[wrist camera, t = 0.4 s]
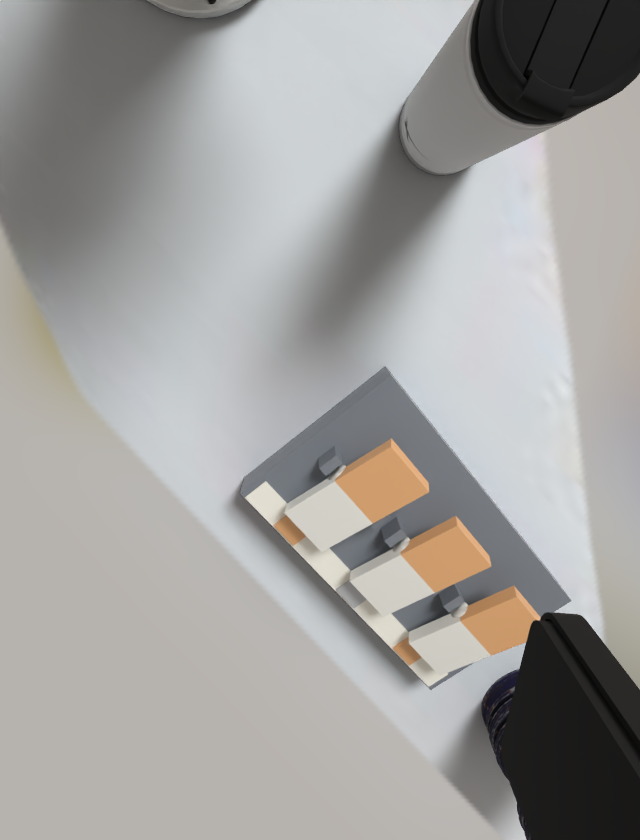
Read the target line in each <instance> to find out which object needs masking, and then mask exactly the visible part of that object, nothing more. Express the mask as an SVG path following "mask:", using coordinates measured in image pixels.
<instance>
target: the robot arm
mask: <svg viewBox="0 0 640 840" xmlns="http://www.w3.org/2000/svg"><path fill="white" fill-rule="evenodd" d="M147 1H148V2H150V3H152V4H154V5H155V6H157V7H159V8H161V9H163V10H164V11H167V12H170V13H174V14H177V15H180V16H183V17H193V18H208V17H216V16H221V15H224V14H227V13H229V12H232V11H235V10H237V9H239V8H241V7H242V6H244V5H245V4H247V3H248V2H250V1H251V0H216V2H215V3H214V4H209V0H147ZM501 754H502V761H503V764H504V768H505V770H506V773H507V776H508V778H509V781H510V783H511V786H512V789H513V791H514V794H515V796H516V799H517V802H518V804H519V807H520V809H521V812H522V815H523V817H524V820H525V822H526V825H527V828H528V830H529V833H530V836H531V838H532V840H640V690H639V688H638V687H637V686H636V684H635V683H634V682H633V681H632V679H631V678H630V677H629V675H628V674H627V673H626V671H625V670H624V669H623V668H622V666H621V665H620V664H619V662H618V661H617V660H616V658H615V657H614V656H613V655H612V654H611V652H610V651H609V649H608V648H607V647H606V645H605V644H604V643H603V642H602V640H601V639H600V638H599V636H598V635H597V634H596V632H595V631H594V630H593V629H592V627H591V626H590V625H589V623H588V622H587V621H586V620H585V619H584V618H583V617H582V616H581V615H578V614H565V613H552V612H546V613H544V614H543V615H542V616H541V619H540V620H535V621H533V622H532V624H531V626H530V630H529V634H528V638H527V642H526V646H525V650H524V654H523V658H522V662H521V666H520V670H519V674H518V677H517V681H516V685H515V689H514V693H513V697H512V701H511V705H510V709H509V713H508V717H507V721H506V725H505V729H504V733H503V737H502V742H501Z"/></svg>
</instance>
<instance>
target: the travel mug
mask: <svg viewBox="0 0 640 840" xmlns="http://www.w3.org/2000/svg"><path fill="white" fill-rule="evenodd" d="M639 73H640V0H475V1H474V2H473V4H472V5H471V7H470V8H469V9H468V11H467V12H466V14H465V15H464V17H463V18H462V20H461V21H460V22H459V24H458V25H457V27H456V28H455V30H454V31H453V33H452V34H451V35H450V37H449V38H448V40H447V41H446V43H445V44H444V46H443V47H442V49H441V50H440V51H439V53H438V54H437V56H436V57H435V59H434V60H433V62H432V63H431V64H430V66H429V67H428V69H427V70H426V72H425V73H424V75H423V76H422V77H421V79H420V80H419V82H418V83H417V85H416V86H415V88H414V89H413V90H412V92H411V93H410V95H409V96H408V98H407V100H406V102H405V104H404V106H403V109H402V112H401V116H400V124H399V132H400V139H401V143H402V147H403V149H404V151H405V153H406V155H407V156H408V158H409V159H410V160H411V162H412V163H413V164H414V165H416V166H417V167H418V168H419V169H421V170H423V171H425V172H427V173H430V174H433V175H449V174H453V173H456V172H459V171H461V170H463V169H465V168H467V167H470V166H472V165H474V164H476V163H478V162H480V161H482V160H484V159H486V158H489V157H491V156H493V155H495V154H497V153H499V152H501V151H503V150H505V149H508V148H510V147H512V146H514V145H516V144H518V143H520V142H522V141H525V140H527V139H529V138H531V137H533V136H535V135H537V134H539V133H541V132H544V131H546V130H548V129H550V128H552V127H554V126H556V125H558V124H560V123H562V122H565V121H567V120H569V119H571V118H572V117H574V116H576V115H577V114H579V113H581V112H582V111H584V110H586V109H588V108H591V107H593V106H595V105H597V104H599V103H601V102H603V101H605V100H607V99H609V98H611V97H612V96H614V95H615V94H617V93H619V92H620V91H622V90H623V89H624V88H625V87H626V86H627V85H629V84H630V83H631V82H632V81H633V80H634V79H635V78H636V77H637V76H638V75H639Z"/></svg>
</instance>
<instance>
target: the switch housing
mask: <svg viewBox="0 0 640 840" xmlns="http://www.w3.org/2000/svg"><path fill="white" fill-rule="evenodd" d="M391 438H392V439H393V441H394V442H395V443H396V444H397V445H398V447H399V448H400V449H401V450H402V451H403V453H404V454H405V455H406V456H407V457H408V459H409V460H410V461H411V462H412V463H413V465H414V466H415V467H416V468H417V469H418V471H419V472H420V473H421V474H422V475H423V477H424V478H425V479H426V480H427V481H428V483H429V493H427V494H425V495H423V496H421V497H420V498H418V499H416V500H414V501H412V502H411V503H409V504H407V505H405V506H403V507H402V508H400V509H398V510H396V511H394V512H393V513H391V514H389V515H387V516H385V517H384V518H382V519H380V520H378V521H376V522H375V523H373V524H371V525H369V526H368V527H366V528H364V529H362V530H360V531H359V532H357V533H355V534H353V535H351V536H350V537H348V538H346V539H344V540H342V541H341V542H339V543H337V544H335V545H333V546H332V547H330V548H328V549H326V550H324V551H323V552H321V551H320V550H319V549H318V548H317V547H316V546H315V545H314V544H313V542H312V541H311V540H310V539H309V538H308V537H307V536H306V535H305V534H304V533H303V532H302V531H301V530H300V529H299V528H298V527H297V526H296V525H295V524H294V523H293V522H292V520H291V519H290V518H289V517H288V516H287V515H286V514H285V513H284V511H285V509H286V506H287V503H289V502H290V501H292V500H294V499H295V498H297V497H298V496H300V495H302V494H303V493H305V492H306V491H308V490H310V489H311V488H313V487H314V486H316V485H318V484H319V483H321V482H322V481H324V480H326V479H327V478H329V475H330V474H331V473H332V472H333V470H335V469H336V468H337V467H339V466H341V465H345V466H348V465H350V464H351V463H353V462H354V461H356V460H358V459H359V458H361V457H362V456H364V455H366V454H367V453H369V452H370V451H372V450H374V449H375V448H377V447H378V446H380V445H382V444H383V443H385V442H386V441H388V440H390V439H391ZM240 494H241V495H242V496H243V497H244V499H245V500H246V501H247V502H248V503H249V504H250V505H251V506H252V507H253V508H254V509H255V510H256V511H257V512H258V513H259V514H260V515H261V516H262V517H263V518H264V519H265V520H266V521H267V522H268V523H269V524H270V525H271V526H272V527H273V528H274V529H275V530H276V531H277V532H278V533H279V534H280V536H281V537H282V538H283V539H284V540H285V541H286V542H287V543H288V544H289V545H290V546H291V547H292V548H293V549H294V550H295V551H296V552H297V553H298V554H299V555H300V556H301V557H302V558H303V559H304V560H305V561H306V562H307V563H308V564H309V565H310V566H311V567H312V568H313V569H314V570H315V572H316V573H317V574H318V575H319V576H320V577H321V578H322V579H323V580H324V581H325V582H326V583H327V584H328V585H329V586H330V587H331V588H332V589H333V590H334V591H335V592H336V593H337V594H338V595H339V596H340V597H341V598H342V599H343V600H344V601H345V602H346V603H347V604H348V605H349V606H350V608H351V609H352V610H353V611H354V612H355V613H356V614H357V615H358V616H359V617H360V618H361V619H362V620H363V621H364V622H365V623H366V624H367V625H368V626H369V627H370V628H371V629H372V630H373V631H374V632H375V633H376V634H377V635H378V636H379V637H380V638H381V639H382V640H383V641H384V642H385V643H386V645H387V646H388V647H389V648H390V649H391V650H392V651H393V652H394V653H395V654H396V655H397V656H398V657H399V658H400V659H401V660H402V661H403V662H404V663H405V664H406V665H407V666H408V667H409V668H410V669H411V670H412V671H413V672H414V673H415V674H416V675H417V676H418V677H419V678H420V679H421V681H422V682H423V683H424V684H425V685H426V686H427V687H428V688H429V689H430V690H431V689H433V688H435V687H436V686H438V685H439V684H441V683H442V682H444V681H446V680H447V679H449V678H450V677H452V676H453V675H455V674H457V673H458V672H460V671H461V670H463V669H465V668H466V667H468V666H469V665H471V664H472V663H471V664H469V665H466V666H463V667H461V668H458V669H456V670H453V671H451V672H448V673H446V674H443V675H440V676H439V675H438V674H437V672H436V671H435V670H434V669H433V668H432V667H431V666H430V665H429V664H428V663H427V662H426V661H425V660H424V659H423V658H422V657H421V656H420V655H419V654H418V653H417V652H416V650H415V649H414V648H413V647H412V646H411V645H410V644H409V632H410V631H412V630H414V629H416V628H419V627H421V626H423V625H425V624H428V623H430V622H432V621H435V620H437V619H439V618H441V617H444V616H446V615H448V614H450V613H451V611H452V610H454V609H455V608H457V607H458V606H460V605H461V604H463V603H464V602H465V603H467V605H471V604H473V603H475V602H478V601H480V600H482V599H484V598H487V597H489V596H491V595H493V594H496V593H498V592H500V591H502V590H505V589H507V588H509V587H511V586H515V587H516V588H517V590H518V591H519V592H520V593H521V594H522V596H523V597H524V598H525V599H526V600H527V602H528V603H529V604H530V605H531V606H532V608H533V609H534V610H535V611H536V612H537V614H538V615H539V616H540V617H541V616H542V615H543V614H544V613H546V612H552V613H553V612H554V611H556V610H558V609H559V608H561V607H562V606H564V605H565V604H567V603H569V602H570V601H571V600H570V598H569V597H568V596H567V594H566V593H565V592H564V590H563V589H562V588H561V586H560V585H559V584H558V582H557V581H556V579H555V578H554V577H553V576H552V574H551V573H550V572H549V571H548V569H547V568H546V567H545V566H544V564H543V563H542V562H541V561H540V559H539V558H538V557H537V556H536V554H535V553H534V552H533V551H532V549H531V548H530V547H529V546H528V544H527V543H526V542H525V541H524V539H523V538H522V537H521V536H520V534H519V533H518V532H517V531H516V529H515V528H514V527H513V526H512V524H511V523H510V522H509V521H508V519H507V518H506V517H505V516H504V514H503V513H502V512H501V511H500V509H499V508H498V507H497V506H496V504H495V503H494V502H493V501H492V499H491V498H490V497H489V496H488V494H487V493H486V492H485V491H484V489H483V488H482V487H481V485H480V484H479V483H478V482H477V480H476V479H475V478H474V477H473V475H472V474H471V473H470V472H469V470H468V469H467V468H466V467H465V465H464V464H463V463H462V462H461V460H460V459H459V458H458V457H457V455H456V454H455V453H454V452H453V450H452V449H451V448H450V447H449V445H448V444H447V443H446V442H445V440H444V439H443V438H442V437H441V435H440V434H439V433H438V432H437V430H436V429H435V428H434V427H433V425H432V424H431V423H430V422H429V420H428V419H427V418H426V417H425V415H424V414H423V413H422V412H421V410H420V409H419V408H418V407H417V405H416V404H415V403H414V402H413V400H412V399H411V398H410V397H409V395H408V394H407V393H406V392H405V390H404V389H403V388H402V386H401V385H400V384H399V383H398V381H397V380H396V379H395V378H394V376H393V375H392V374H391V373H390V371H389V370H388V369H387V368H386V366H385V367H384V368H383V369H381V370H380V371H379V372H378V373H376V374H375V375H374V376H373V377H371V378H370V379H369V380H367V381H366V382H365V383H364V384H362V385H361V386H360V387H359V388H357V389H356V390H355V391H353V392H352V393H351V394H350V395H348V396H347V397H346V398H345V399H343V400H342V401H341V402H339V403H338V404H337V405H336V406H334V407H333V408H332V409H331V410H329V411H328V412H327V413H326V414H324V415H323V416H322V417H320V418H319V419H318V420H317V421H315V422H314V423H313V424H312V425H310V426H309V427H308V428H306V429H305V430H304V431H303V432H301V433H300V434H299V435H298V436H296V437H295V438H294V439H292V440H291V441H290V442H289V443H287V444H286V445H285V446H284V447H282V448H281V449H280V450H279V451H277V452H276V453H275V454H273V455H272V456H271V457H270V458H268V459H267V460H266V461H265V462H263V463H262V464H261V465H259V466H258V467H257V468H256V469H254V470H253V471H252V472H251V473H249V474H248V475H247V476H246V477H244V480H243V483H242V487H241V491H240ZM454 516H457V518H458V519H459V520H460V521H461V522H462V524H463V525H464V526H465V527H466V528H467V530H468V531H469V532H470V533H471V534H472V536H473V537H474V538H475V539H476V540H477V542H478V543H479V544H480V545H481V546H482V548H483V549H484V550H485V551H486V552H487V554H488V555H489V557H490V562H491V567H489V568H487V569H485V570H483V571H481V572H479V573H477V574H474V575H472V576H470V577H468V578H466V579H464V580H462V581H459V582H457V583H455V584H453V585H451V586H449V587H447V588H444V589H442V590H440V591H438V592H436V593H434V594H431V595H429V596H427V597H425V598H423V599H421V600H419V601H416V602H414V603H412V604H410V605H408V606H406V607H404V608H401V609H399V610H397V611H395V612H393V613H391V614H389V615H386V616H384V617H383V616H382V615H381V614H380V613H379V612H378V611H377V610H376V609H375V607H374V606H373V605H372V604H371V603H370V602H369V601H368V600H367V599H366V598H365V597H364V596H363V595H362V594H361V593H360V592H359V591H358V590H357V589H356V588H355V587H354V585H353V584H352V583H351V582H350V574H351V570H353V569H355V568H357V567H359V566H361V565H363V564H365V563H367V562H369V561H370V560H372V559H374V558H376V557H378V556H380V555H382V554H384V553H386V552H388V551H390V550H391V549H393V546H394V545H395V544H396V543H398V542H399V541H401V540H402V539H404V538H405V537H408V538H409V539H410V540H411V539H412V538H414V537H416V536H418V535H420V534H422V533H424V532H426V531H428V530H430V529H432V528H433V527H435V526H437V525H439V524H441V523H443V522H445V521H447V520H449V519H451V518H453V517H454Z"/></svg>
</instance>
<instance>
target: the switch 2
mask: <svg viewBox="0 0 640 840" xmlns="http://www.w3.org/2000/svg"><path fill="white" fill-rule="evenodd" d="M489 567H491V562H490V557H489V555H488V554H487V552H486V551H485V550H484V549H483V548H482V546H481V545H480V544H479V543H478V542H477V540H476V539H475V538H474V537H473V536H472V534H471V533H470V532H469V531H468V530H467V528H466V527H465V526H464V525H463V524H462V522H461V521H460V520H459V519H458V518H457V516H454V517H453V518H451V519H449V520H447V521H445V522H443V523H441V524H439V525H437V526H435V527H433V528H432V529H430V530H428V531H426V532H424V533H422V534H420V535H418V536H416V537H414V538H412V539H411V540H410V539H409V538H408V537H405V538H404V539H402V540H401V541H399V542H398V543H396V544H395V545H394V546H393V549H391V550H390V551H388V552H386V553H384V554H382V555H380V556H378V557H376V558H374V559H372V560H370V561H369V562H367V563H365V564H363V565H361V566H359V567H357V568H355V569H353V570H351V574H350V582H351V583H352V584H353V585H354V587H355V588H356V589H357V590H358V591H359V592H360V593H361V594H362V595H363V596H364V597H365V598H366V599H367V600H368V601H369V602H370V603H371V604H372V605H373V606H374V607H375V609H376V610H377V611H378V612H379V613H380V614H381V615H382V616H383V617H384V616H386V615H389V614H391V613H393V612H395V611H397V610H399V609H401V608H404V607H406V606H408V605H410V604H412V603H414V602H416V601H419V600H421V599H423V598H425V597H427V596H429V595H431V594H434V593H436V592H438V591H440V590H442V589H444V588H447V587H449V586H451V585H453V584H455V583H457V582H459V581H462V580H464V579H466V578H468V577H470V576H472V575H474V574H477V573H479V572H481V571H483V570H485V569H487V568H489Z"/></svg>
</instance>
